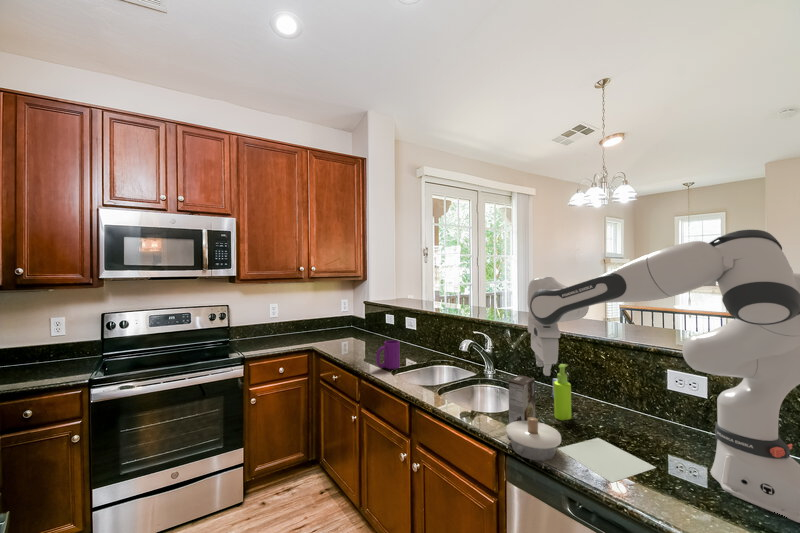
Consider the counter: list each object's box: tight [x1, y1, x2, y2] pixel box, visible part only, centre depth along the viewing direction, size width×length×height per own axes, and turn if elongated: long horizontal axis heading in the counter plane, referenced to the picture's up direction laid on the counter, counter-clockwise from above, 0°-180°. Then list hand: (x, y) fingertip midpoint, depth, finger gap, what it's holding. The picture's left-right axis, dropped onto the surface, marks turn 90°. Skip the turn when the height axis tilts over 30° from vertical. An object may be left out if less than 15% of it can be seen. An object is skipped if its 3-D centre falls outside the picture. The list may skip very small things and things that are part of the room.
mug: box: [375, 339, 401, 370], centre depth 193 cm, size 9×16×15 cm, turn 129°
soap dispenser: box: [553, 363, 572, 421], centre depth 127 cm, size 6×7×20 cm
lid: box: [505, 417, 562, 449], centre depth 104 cm, size 16×16×5 cm
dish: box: [506, 434, 557, 461], centre depth 104 cm, size 14×14×5 cm
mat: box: [556, 437, 657, 483], centre depth 99 cm, size 18×18×1 cm
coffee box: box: [507, 374, 536, 424], centre depth 123 cm, size 9×6×16 cm
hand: (543, 370), depth 107 cm, fingers open, 8 cm apart
